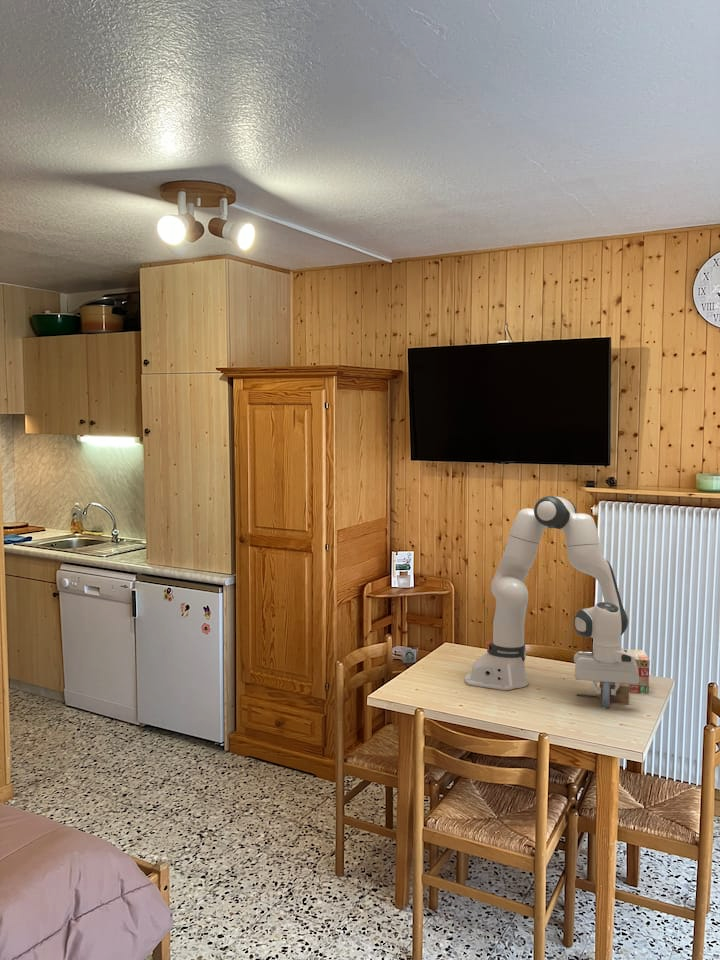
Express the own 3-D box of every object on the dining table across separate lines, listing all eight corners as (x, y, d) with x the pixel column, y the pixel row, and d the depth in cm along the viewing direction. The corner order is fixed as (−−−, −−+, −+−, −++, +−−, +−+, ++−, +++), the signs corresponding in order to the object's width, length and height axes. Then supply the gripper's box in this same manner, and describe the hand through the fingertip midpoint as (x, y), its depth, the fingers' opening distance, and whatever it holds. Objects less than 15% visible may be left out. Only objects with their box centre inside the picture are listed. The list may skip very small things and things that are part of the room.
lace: (577, 695, 267) (577, 694, 267) (577, 695, 268) (577, 693, 268) (598, 697, 265) (598, 696, 265) (598, 697, 266) (598, 695, 266)
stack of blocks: (621, 674, 292) (621, 642, 291) (638, 675, 290) (639, 643, 290) (630, 693, 271) (630, 658, 270) (649, 694, 269) (649, 659, 269)
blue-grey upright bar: (601, 707, 256) (602, 674, 255) (601, 705, 258) (602, 672, 257) (609, 708, 255) (610, 675, 254) (609, 705, 257) (609, 673, 257)
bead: (600, 701, 261) (600, 684, 261) (599, 693, 270) (599, 676, 270) (628, 704, 259) (629, 686, 259) (626, 695, 268) (627, 678, 267)
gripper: (573, 653, 255) (573, 694, 256) (640, 658, 250) (639, 700, 251) (573, 648, 261) (573, 688, 262) (638, 652, 256) (637, 694, 257)
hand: (605, 694), depth 256 cm, fingers open, 3 cm apart
